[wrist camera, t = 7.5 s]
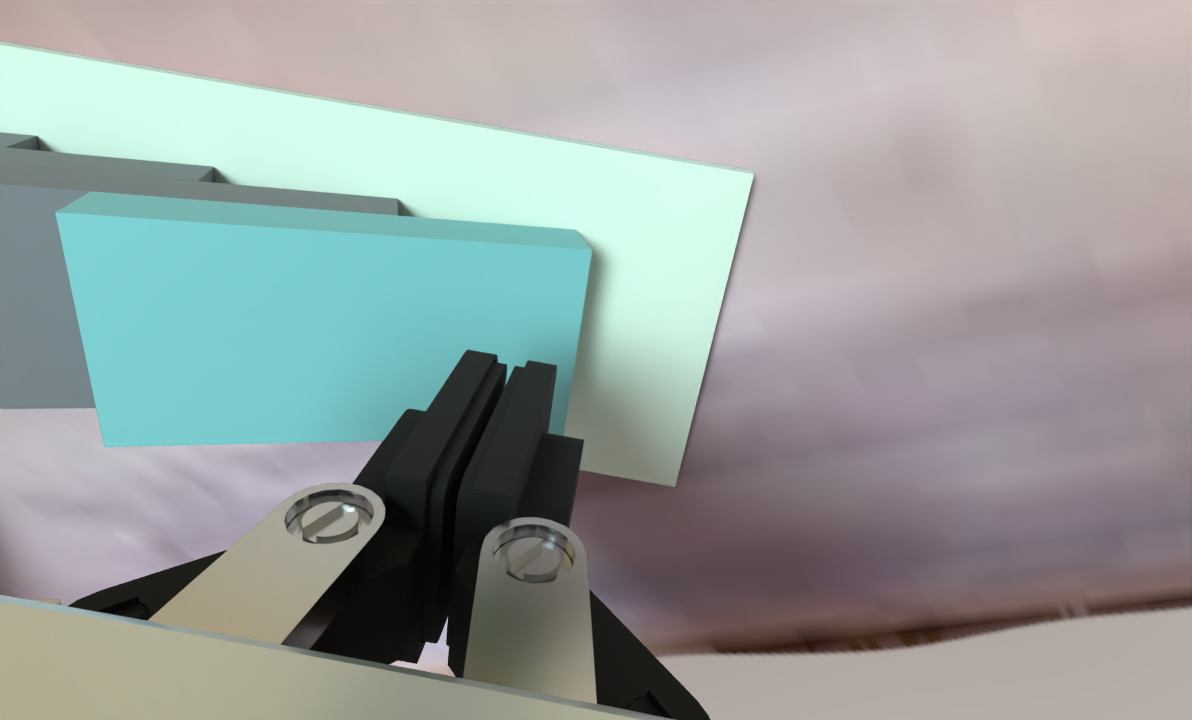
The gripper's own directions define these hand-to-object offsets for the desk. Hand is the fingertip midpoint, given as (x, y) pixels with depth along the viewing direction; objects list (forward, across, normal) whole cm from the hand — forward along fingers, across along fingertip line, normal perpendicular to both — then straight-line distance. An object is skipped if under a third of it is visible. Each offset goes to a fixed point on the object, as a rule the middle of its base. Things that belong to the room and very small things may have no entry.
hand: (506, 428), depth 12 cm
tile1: (+5, -1, 0) cm, 5 cm away
